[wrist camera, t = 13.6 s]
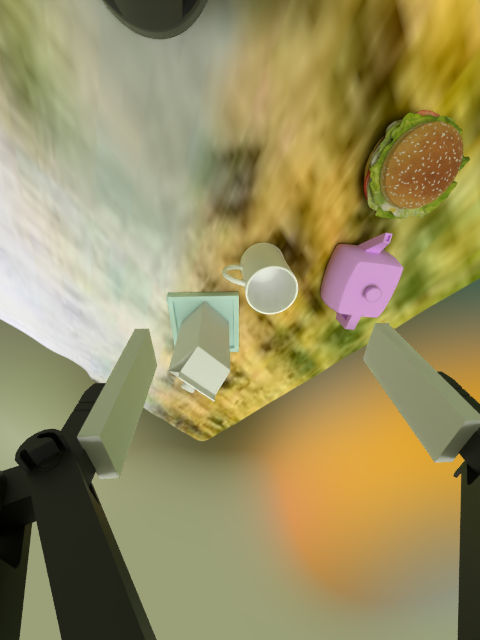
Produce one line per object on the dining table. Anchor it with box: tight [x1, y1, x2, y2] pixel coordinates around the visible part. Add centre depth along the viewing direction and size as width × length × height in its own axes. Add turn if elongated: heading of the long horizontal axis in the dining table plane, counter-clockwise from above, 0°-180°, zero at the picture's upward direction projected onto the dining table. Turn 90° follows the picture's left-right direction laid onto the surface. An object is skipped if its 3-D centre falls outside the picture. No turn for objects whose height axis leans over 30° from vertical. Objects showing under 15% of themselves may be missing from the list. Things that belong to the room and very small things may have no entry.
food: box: [364, 110, 470, 219], centre depth 38 cm, size 14×14×8 cm
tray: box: [167, 292, 239, 352], centre depth 54 cm, size 14×14×2 cm
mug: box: [223, 242, 298, 314], centre depth 43 cm, size 12×8×12 cm
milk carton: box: [169, 301, 230, 401], centre depth 46 cm, size 7×7×19 cm
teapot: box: [320, 233, 403, 330], centre depth 46 cm, size 18×11×10 cm, turn 171°
